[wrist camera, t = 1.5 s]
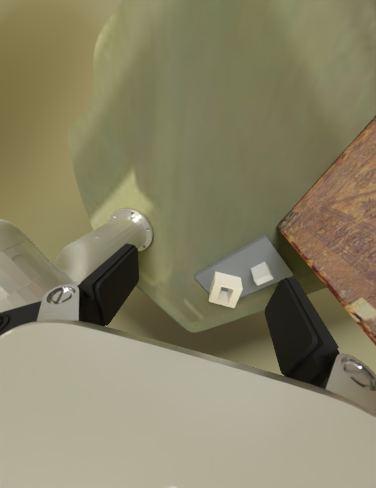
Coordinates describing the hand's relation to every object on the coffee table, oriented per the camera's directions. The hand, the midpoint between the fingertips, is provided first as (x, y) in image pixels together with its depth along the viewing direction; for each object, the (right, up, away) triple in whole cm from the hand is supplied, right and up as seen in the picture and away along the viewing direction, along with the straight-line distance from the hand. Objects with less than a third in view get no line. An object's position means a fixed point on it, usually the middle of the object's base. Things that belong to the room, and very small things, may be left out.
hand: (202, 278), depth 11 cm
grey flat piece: (+13, -6, +34) cm, 37 cm away
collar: (+9, -9, +35) cm, 37 cm away
